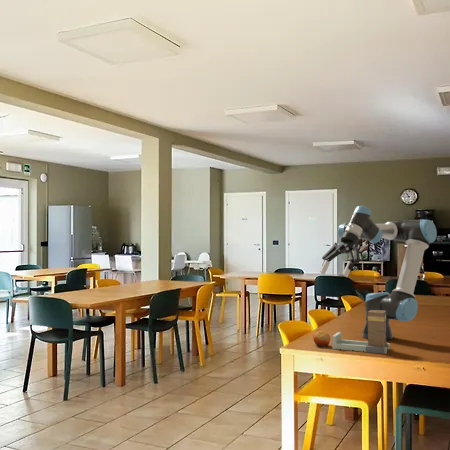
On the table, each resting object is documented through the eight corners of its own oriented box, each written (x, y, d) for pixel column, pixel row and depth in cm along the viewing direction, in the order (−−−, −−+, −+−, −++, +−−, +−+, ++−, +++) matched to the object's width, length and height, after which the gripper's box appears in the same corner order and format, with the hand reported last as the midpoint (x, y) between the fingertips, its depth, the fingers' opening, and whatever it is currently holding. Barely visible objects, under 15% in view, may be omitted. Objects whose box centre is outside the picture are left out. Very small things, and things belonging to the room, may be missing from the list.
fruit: (327, 340, 271) (328, 327, 267) (330, 351, 264) (332, 339, 260) (310, 340, 271) (312, 328, 267) (313, 351, 264) (315, 339, 260)
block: (370, 348, 260) (370, 309, 260) (386, 349, 257) (386, 310, 257) (367, 351, 253) (367, 311, 253) (383, 352, 250) (383, 312, 250)
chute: (338, 344, 269) (338, 331, 269) (390, 348, 259) (390, 335, 259) (332, 349, 257) (332, 336, 258) (386, 354, 247) (386, 340, 247)
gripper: (326, 230, 262) (308, 268, 254) (369, 231, 242) (350, 271, 235) (335, 239, 266) (317, 276, 258) (378, 240, 246) (359, 281, 238)
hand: (333, 274), depth 246 cm, fingers open, 13 cm apart
